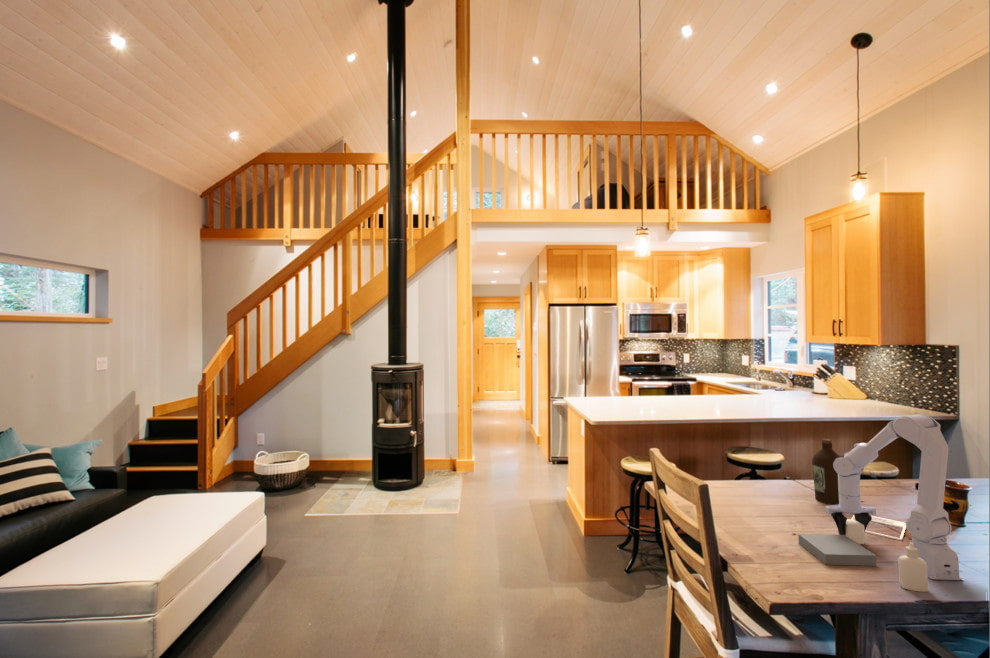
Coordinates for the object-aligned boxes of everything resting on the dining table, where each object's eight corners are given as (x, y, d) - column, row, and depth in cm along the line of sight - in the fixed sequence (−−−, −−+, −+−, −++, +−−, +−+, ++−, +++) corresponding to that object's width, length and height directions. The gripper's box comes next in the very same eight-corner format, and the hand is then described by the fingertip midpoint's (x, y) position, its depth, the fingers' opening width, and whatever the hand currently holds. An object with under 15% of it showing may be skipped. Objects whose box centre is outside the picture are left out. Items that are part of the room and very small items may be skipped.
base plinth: (876, 565, 132) (876, 555, 132) (825, 564, 134) (825, 554, 134) (844, 544, 146) (844, 534, 146) (798, 543, 148) (798, 533, 148)
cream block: (865, 543, 146) (864, 525, 146) (848, 543, 146) (847, 524, 147) (854, 537, 151) (853, 519, 151) (838, 536, 151) (837, 518, 152)
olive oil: (833, 496, 189) (831, 436, 189) (852, 505, 178) (849, 442, 179) (807, 496, 189) (805, 436, 190) (824, 505, 179) (822, 442, 179)
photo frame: (907, 522, 160) (901, 538, 147) (907, 525, 160) (902, 542, 147) (855, 511, 170) (846, 526, 158) (855, 514, 170) (846, 529, 158)
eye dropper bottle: (901, 581, 124) (899, 537, 124) (929, 589, 119) (927, 543, 120) (898, 587, 121) (895, 541, 121) (926, 595, 117) (924, 549, 117)
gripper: (864, 490, 152) (866, 530, 152) (818, 489, 154) (820, 529, 153) (879, 497, 145) (881, 539, 145) (831, 496, 147) (833, 538, 146)
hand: (851, 535), depth 149 cm, fingers closed on cream block, 5 cm apart
